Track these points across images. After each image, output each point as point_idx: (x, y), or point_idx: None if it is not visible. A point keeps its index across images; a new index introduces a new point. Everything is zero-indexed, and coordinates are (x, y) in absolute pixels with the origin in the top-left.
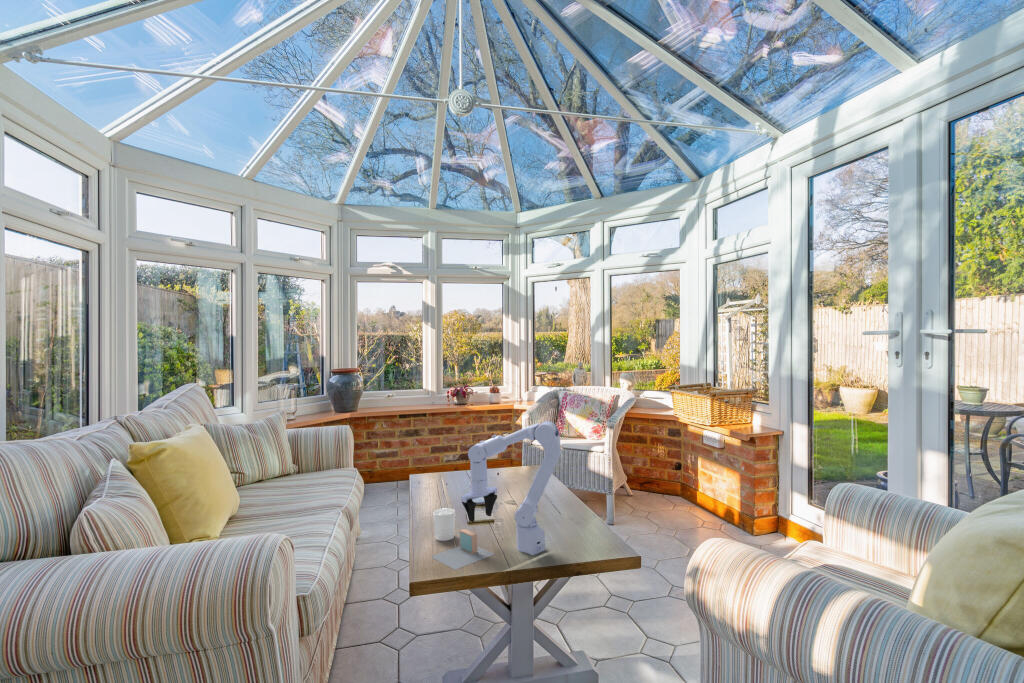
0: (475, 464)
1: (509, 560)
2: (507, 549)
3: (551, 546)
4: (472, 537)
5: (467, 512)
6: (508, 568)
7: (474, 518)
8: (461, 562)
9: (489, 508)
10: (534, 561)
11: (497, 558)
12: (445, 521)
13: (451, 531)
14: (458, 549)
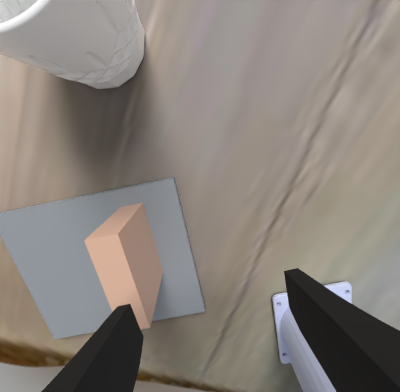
0: None
1: (227, 342)
2: (267, 281)
3: None
4: None
5: (68, 376)
6: (199, 374)
7: (137, 367)
8: (87, 310)
9: (327, 365)
10: (277, 374)
11: (205, 317)
12: (4, 56)
13: (101, 77)
14: (109, 215)
